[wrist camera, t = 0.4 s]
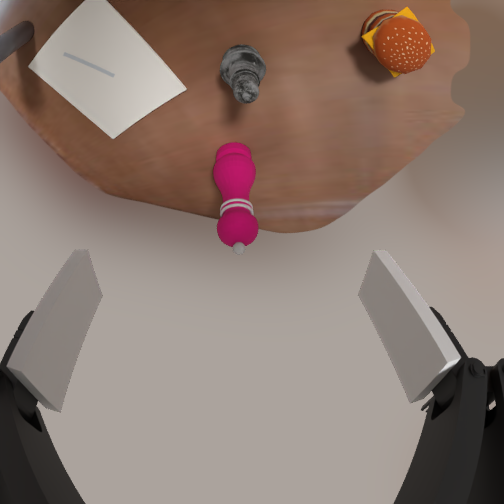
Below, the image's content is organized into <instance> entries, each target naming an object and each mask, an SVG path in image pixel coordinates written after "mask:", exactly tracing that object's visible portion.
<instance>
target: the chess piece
mask: <svg viewBox="0 0 504 504" xmlns="http://www.w3.org/2000/svg"><path fill="white" fill-rule="evenodd" d="M265 72H266V65H265V63H264V60H263V59H262V58H261V57H260V55H259V52H258V51H257V50H256V49H254V48H253V47H251V46H248V45H236V46H233V47H231V48H230V49H228V50H227V51H226V52H225V54H224V56H223V60H222V63H221V65H220V74H221V77H222V79H223V80H224V81H225V82H226V83H227V84H229V85H230V87H231V88H232V90H233V94H234V97H235V98H236V100H237V101H239V102H241V103H246V104H247V103H251V102H253V101H255V100H256V99H257V97H258V95H259V89H258V87H259V84H260V81H261V80H262V79H263V77H264V75H265Z"/></svg>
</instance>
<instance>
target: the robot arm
mask: <svg viewBox="0 0 504 504" xmlns="http://www.w3.org/2000/svg"><path fill="white" fill-rule="evenodd" d="M102 296H103V295H102V293H101V290H100V287H99V284H98V281H97V278H96V275H95V272H94V269H93V265H92V262H91V258H90V255H89V252H88V250H74V252H73V253H72V254H71V256H70V257H69V258H68V260H67V261H66V263H65V264H64V265H63V267H62V268H61V270H60V271H59V273H58V274H57V276H56V277H55V279H54V280H53V282H52V283H51V285H50V286H49V288H48V290H47V291H46V293H45V294H44V296H43V298H42V299H41V301H40V303H39V304H38V306H37V308H36V309H35V311H30V312H29V313H28V314H27V315H26V316H25V317H24V318H23V320H22V322H21V323H20V325H19V327H18V330H17V331H16V333H15V335H14V338H13V339H12V340H11V342H10V344H9V346H8V349H7V350H6V352H5V354H4V357H3V359H2V361H1V363H0V504H85V502H84V501H83V499H82V498H81V496H80V494H79V493H78V491H77V490H76V488H75V486H74V484H73V483H72V481H71V479H70V477H69V476H68V474H67V472H66V470H65V468H64V466H63V464H62V462H61V460H60V458H59V456H58V454H57V452H56V450H55V448H54V445H53V443H52V441H51V438H50V436H49V434H48V431H47V429H46V426H45V424H44V421H43V418H42V416H41V413H40V411H39V409H38V407H37V406H36V405H37V402H38V401H39V402H40V403H41V404H42V405H43V406H44V407H45V408H48V409H51V410H54V411H57V412H61V409H62V405H63V402H64V398H65V395H66V391H67V388H68V384H69V382H70V379H71V375H72V372H73V369H74V366H75V363H76V361H77V358H78V355H79V352H80V350H81V347H82V344H83V342H84V339H85V336H86V334H87V331H88V329H89V326H90V324H91V322H92V319H93V317H94V314H95V312H96V310H97V307H98V305H99V303H100V301H101V298H102ZM358 296H359V297H360V299H361V301H362V303H363V305H364V307H365V309H366V311H367V312H368V314H369V317H370V318H371V320H372V322H373V324H374V326H375V328H376V330H377V332H378V334H379V336H380V338H381V340H382V343H383V345H384V347H385V349H386V351H387V353H388V355H389V357H390V359H391V361H392V364H393V366H394V368H395V370H396V372H397V375H398V377H399V379H400V381H401V383H402V386H403V388H404V390H405V393H406V395H407V397H408V400H409V402H410V403H413V402H416V401H418V400H421V399H424V398H425V397H426V396H427V395H428V394H429V393H430V392H431V391H432V392H433V394H434V396H433V397H432V398H431V399H430V400H429V401H428V402H427V403H426V404H425V405H423V407H422V409H421V410H422V411H423V410H424V409H425V408H426V407H427V406H429V408H428V409H427V411H426V412H427V415H426V419H425V423H424V426H423V430H422V433H421V436H420V439H419V443H418V445H417V449H416V451H415V454H414V457H413V460H412V462H411V465H410V468H409V470H408V473H407V475H406V478H405V480H404V482H403V484H402V487H401V489H400V491H399V493H398V495H397V497H396V500H395V502H394V504H504V358H503V359H500V360H499V361H498V362H497V364H496V365H495V366H484V364H483V363H482V362H481V361H480V360H478V359H476V358H468V356H467V355H466V353H465V352H464V350H463V348H462V347H461V345H460V344H459V342H458V340H457V339H456V337H455V336H454V334H453V333H452V332H451V329H450V328H449V327H448V325H446V322H445V321H444V320H443V318H442V316H441V315H440V314H439V313H438V312H437V311H436V310H435V309H434V308H433V307H429V306H428V305H427V304H426V302H425V301H424V299H423V298H422V296H421V295H420V294H419V292H418V291H417V290H416V288H415V287H414V286H413V284H412V283H411V281H410V280H409V279H408V277H407V276H406V275H405V274H404V272H403V271H402V270H401V268H400V267H399V266H398V264H397V263H396V262H395V261H394V259H393V258H392V257H391V256H390V254H389V253H388V252H387V251H386V250H385V251H384V250H379V251H378V250H374V251H373V253H372V256H371V260H370V262H369V265H368V268H367V271H366V274H365V277H364V280H363V282H362V285H361V288H360V291H359V293H358ZM494 400H495V402H496V406H495V407H494V408H493V409H491V410H490V409H489V405H490V404H491V403H492V402H493V401H494Z"/></svg>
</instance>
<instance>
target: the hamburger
mask: <svg viewBox="0 0 504 504" xmlns="http://www.w3.org/2000/svg"><path fill="white" fill-rule="evenodd" d="M361 37H362V38H363V42H364V44H365V45H366V47H367V49H368V51H370V52H371V53H372V54H373V55H375V57H376V58H377V59H378V61H379V63H381V64H382V65H383V66H384V67H385V68H387V69H388V70H389V71H390V72H391V74H392V75H393V77H396V76H398V75H400V74H402V73H404V74H406V73H409V72H412V71H415V70H418V69H421V68H422V67H423V65H424V64H425V63H426V61H427V60H428V59H429V57H430V56H431V54H432V53H433V52H435V50H434V47H433V45H432V43H431V38H430V36H429V35H428V33H427V32H426V30H425V29H424V27H423V26H422V24H421V23H420V22H419V21H418V20H417V18H416V17H415V16H414V14H413V13H412V12H411V10H410V9H409V8H408V7H406V8H404V9H403V10H402V11H400V12H397V11H394V10H379V11H377V12H375V13H372V14H371V15H370V16H369V17H368V18H367V19H366V21H365V22H364V25H363V29H362V36H361Z"/></svg>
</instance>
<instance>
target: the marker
mask: <svg viewBox="0 0 504 504" xmlns="http://www.w3.org/2000/svg"><path fill="white" fill-rule="evenodd" d="M33 34H34V26H33V24H32V23H31V22H29V21H23V22H21V23H20V24H18V25H16V26H15V27H13V28H11V29H10V30H8V31H7V32H5V33H4V34H2V35H1V36H0V63H1V62H2V61H3V60H4V59H6V58H7V57H8V56H9V55H11V54H12V53H13V52H14V51H16V50H17V49H18V48H20V47H21V46H22V45H24V44H25V43H27V42H28V41H29V40H30V39H31V38H32V36H33Z"/></svg>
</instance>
